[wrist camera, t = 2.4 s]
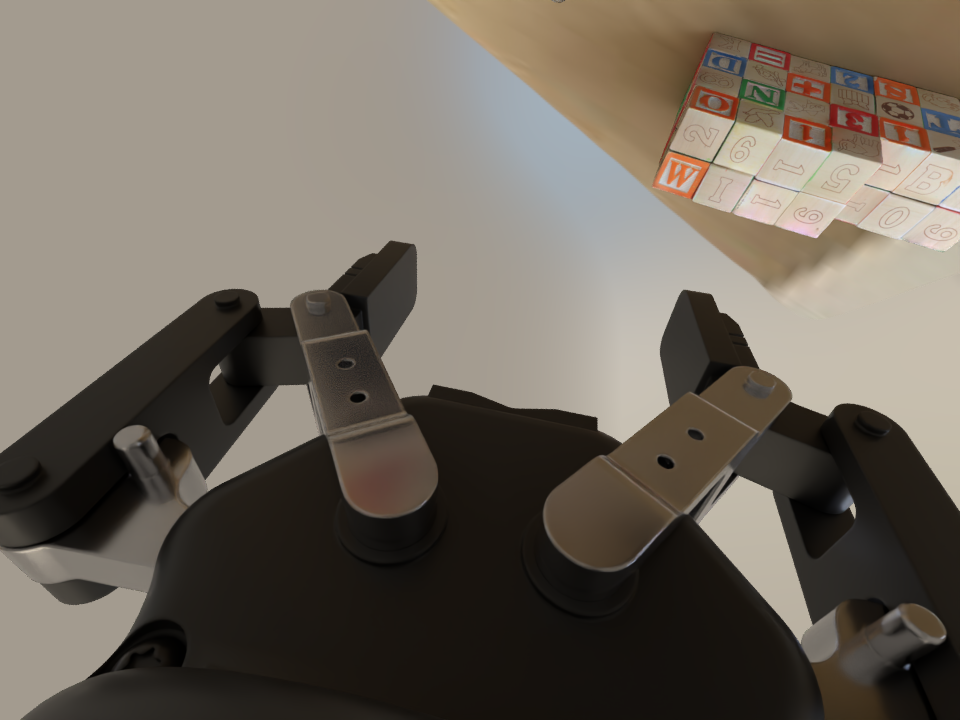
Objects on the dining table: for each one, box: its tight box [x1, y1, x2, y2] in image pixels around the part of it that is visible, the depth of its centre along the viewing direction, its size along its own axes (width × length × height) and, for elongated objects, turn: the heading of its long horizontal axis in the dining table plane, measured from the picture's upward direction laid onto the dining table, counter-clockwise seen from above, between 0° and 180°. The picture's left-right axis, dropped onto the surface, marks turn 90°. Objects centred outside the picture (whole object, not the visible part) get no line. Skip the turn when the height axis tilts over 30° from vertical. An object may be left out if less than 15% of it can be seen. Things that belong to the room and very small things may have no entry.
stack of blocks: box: [652, 33, 960, 252], centre depth 33 cm, size 21×6×12 cm, turn 86°
